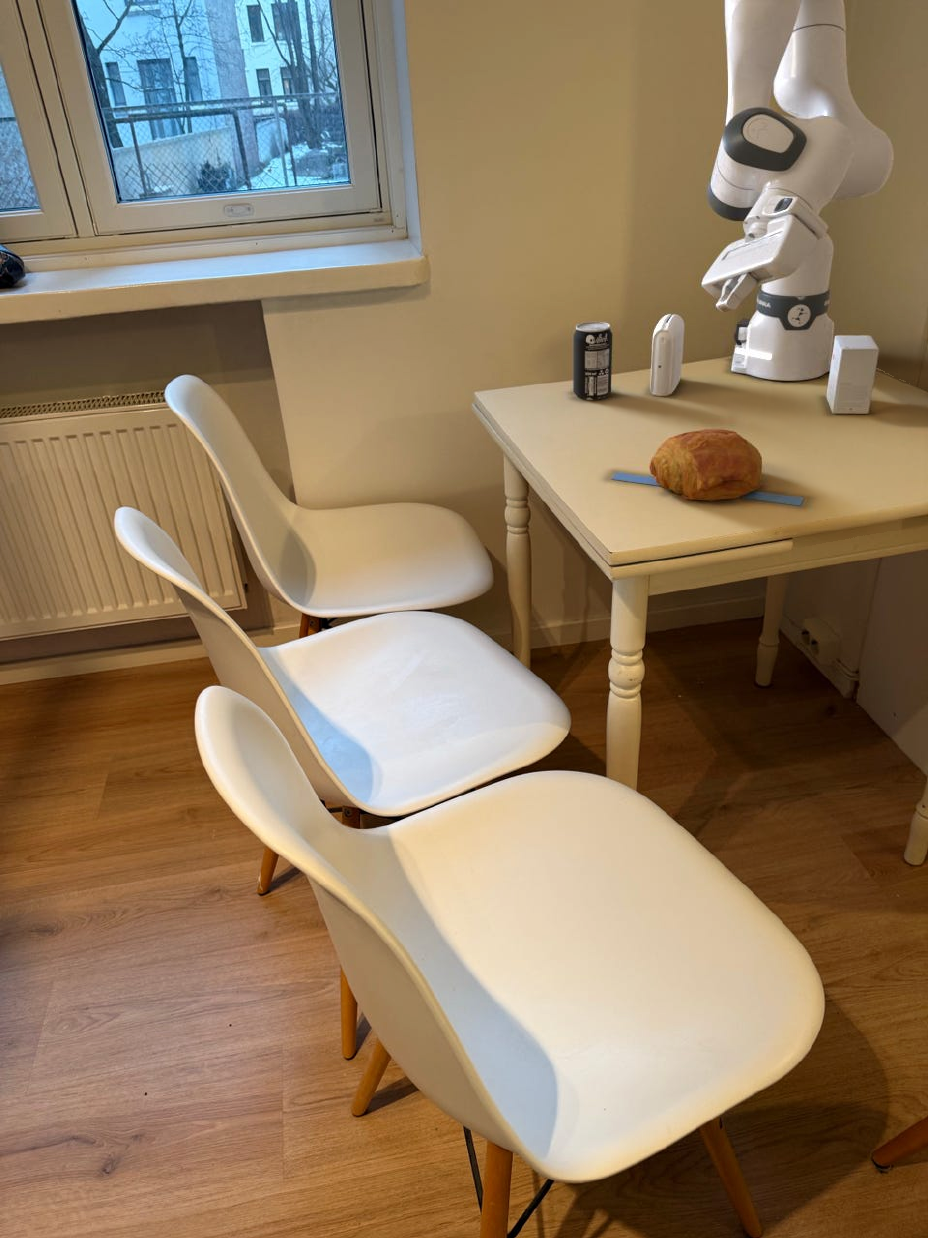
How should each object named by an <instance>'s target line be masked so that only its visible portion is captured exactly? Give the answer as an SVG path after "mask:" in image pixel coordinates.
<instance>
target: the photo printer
mask: <svg viewBox="0 0 928 1238" xmlns="http://www.w3.org/2000/svg"><path fill="white" fill-rule="evenodd" d="M684 337H685V322H684V320H683V318H682V317H681V316H680V315H679V314H675V313H674V314H671V313H668V314H666V315H664V316H663V317H661V319H660V320H658V323H657V324H656V326H655V328H654V330H653V334H652V342H651V343H652V344H651V365H650V383H649V384H650V385H649V390H650V394H652V395H653V396H656V397H657V396H658V397H667V396H669V395H672V393H673V392H674V391H675V390H676V389H677V387H678V385H679V383H680V380H681V377H682V369H683V368H682V366H683V351H684Z"/></svg>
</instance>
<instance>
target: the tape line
mask: <svg viewBox="0 0 928 1238" xmlns="http://www.w3.org/2000/svg"><path fill="white" fill-rule="evenodd" d="M611 480H614V481H622V482H627V483H628V482H629V483H635V484H641V485H642V484H643V485H648V486H649V485H650V486H656V487H661V486H660V485H659V484H658V483H656V481H655V479H654V476H647V475H638V474H632V473H625V472H616V473H615V474H614V475H613V476H612V478H611ZM739 498H742V499H749V500H756V501H764V502H770V503H777V504H785V505H792V506H798V507H801V506H802V503H803V502H804V499H805V497H801V496H800V497H798V496H792V495H784V494H778V493H771V492H764V491H757V490H755V491H752V492H749V493H748V494H745V495H742V496H740V497H739Z"/></svg>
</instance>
